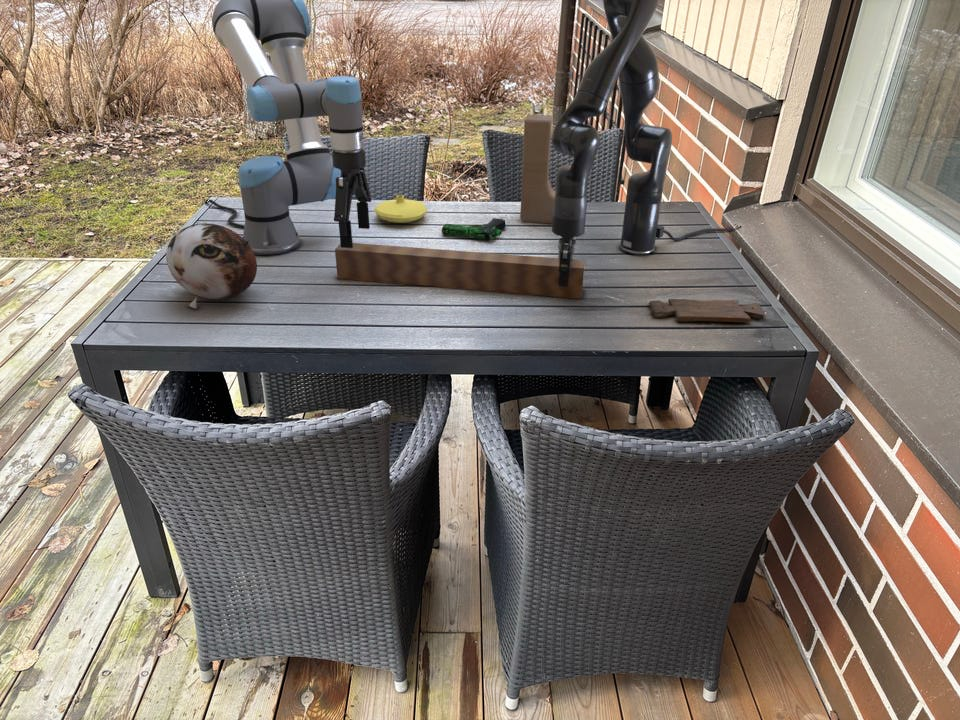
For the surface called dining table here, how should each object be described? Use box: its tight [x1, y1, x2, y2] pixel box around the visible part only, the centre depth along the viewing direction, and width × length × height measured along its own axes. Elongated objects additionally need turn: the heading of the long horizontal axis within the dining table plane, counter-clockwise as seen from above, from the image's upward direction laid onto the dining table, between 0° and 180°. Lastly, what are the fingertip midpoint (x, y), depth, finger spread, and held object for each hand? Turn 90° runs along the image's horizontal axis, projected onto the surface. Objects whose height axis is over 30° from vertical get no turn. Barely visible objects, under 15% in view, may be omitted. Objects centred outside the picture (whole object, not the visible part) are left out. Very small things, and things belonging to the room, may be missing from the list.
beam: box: [334, 242, 586, 299], centre depth 175 cm, size 61×5×8 cm, turn 81°
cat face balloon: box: [165, 222, 258, 309], centre depth 165 cm, size 22×18×20 cm
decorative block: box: [519, 114, 556, 224], centre depth 210 cm, size 8×15×30 cm, turn 82°
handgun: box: [441, 217, 506, 242], centre depth 207 cm, size 16×3×15 cm
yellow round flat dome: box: [374, 194, 428, 224], centre depth 214 cm, size 16×16×7 cm
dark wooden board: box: [648, 298, 765, 323], centre depth 164 cm, size 26×2×10 cm
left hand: (355, 237), depth 175 cm, fingers open, 13 cm apart
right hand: (564, 280), depth 172 cm, fingers closed on beam, 5 cm apart
